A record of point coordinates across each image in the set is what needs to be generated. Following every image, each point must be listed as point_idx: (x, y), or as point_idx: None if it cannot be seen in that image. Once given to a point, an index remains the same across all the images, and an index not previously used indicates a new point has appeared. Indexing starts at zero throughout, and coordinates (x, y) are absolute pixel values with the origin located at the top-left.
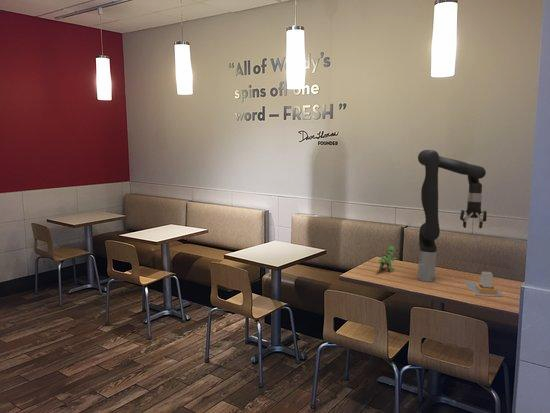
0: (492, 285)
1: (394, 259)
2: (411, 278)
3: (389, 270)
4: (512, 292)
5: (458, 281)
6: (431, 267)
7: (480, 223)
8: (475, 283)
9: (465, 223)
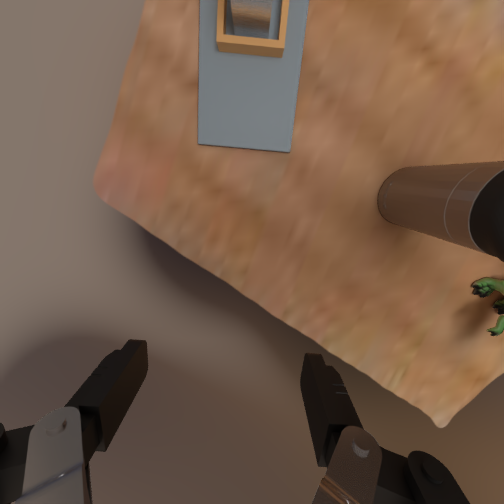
0: (218, 27)
1: (502, 320)
2: None
3: (497, 279)
4: (143, 40)
5: (298, 182)
6: (446, 165)
7: (107, 390)
8: (255, 133)
9: (333, 398)
